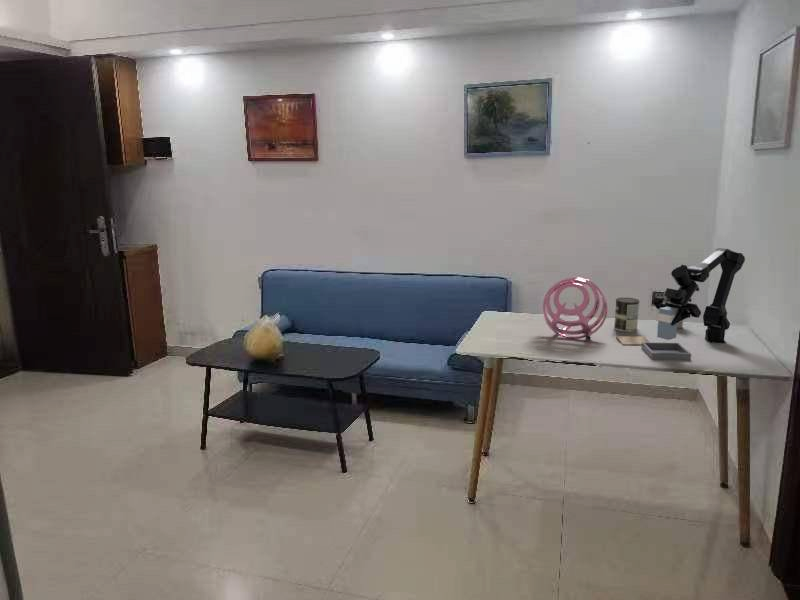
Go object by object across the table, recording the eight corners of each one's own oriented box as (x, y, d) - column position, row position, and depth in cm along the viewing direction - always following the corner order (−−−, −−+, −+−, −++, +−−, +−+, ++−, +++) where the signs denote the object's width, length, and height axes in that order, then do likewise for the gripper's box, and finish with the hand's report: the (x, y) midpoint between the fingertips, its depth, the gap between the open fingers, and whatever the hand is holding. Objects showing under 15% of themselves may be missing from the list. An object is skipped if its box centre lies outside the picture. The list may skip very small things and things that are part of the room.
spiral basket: (562, 283, 284) (554, 259, 261) (619, 303, 270) (615, 279, 247) (537, 333, 279) (527, 313, 256) (593, 356, 265) (588, 337, 242)
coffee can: (613, 330, 272) (615, 301, 269) (614, 325, 281) (616, 296, 278) (637, 332, 268) (639, 302, 265) (637, 326, 277) (639, 298, 274)
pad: (644, 338, 258) (644, 336, 258) (652, 346, 247) (652, 344, 247) (616, 338, 260) (616, 336, 260) (622, 346, 248) (622, 344, 248)
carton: (664, 335, 238) (667, 306, 235) (676, 337, 233) (678, 308, 231) (656, 337, 235) (659, 308, 233) (668, 340, 231) (670, 310, 228)
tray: (677, 349, 242) (678, 342, 241) (690, 361, 228) (691, 353, 227) (641, 349, 244) (641, 342, 243) (651, 360, 230) (652, 353, 229)
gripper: (656, 277, 239) (637, 307, 236) (699, 284, 223) (679, 316, 220) (667, 293, 245) (648, 322, 242) (709, 301, 229) (690, 333, 226)
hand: (665, 323), depth 232 cm, fingers closed on carton, 5 cm apart
